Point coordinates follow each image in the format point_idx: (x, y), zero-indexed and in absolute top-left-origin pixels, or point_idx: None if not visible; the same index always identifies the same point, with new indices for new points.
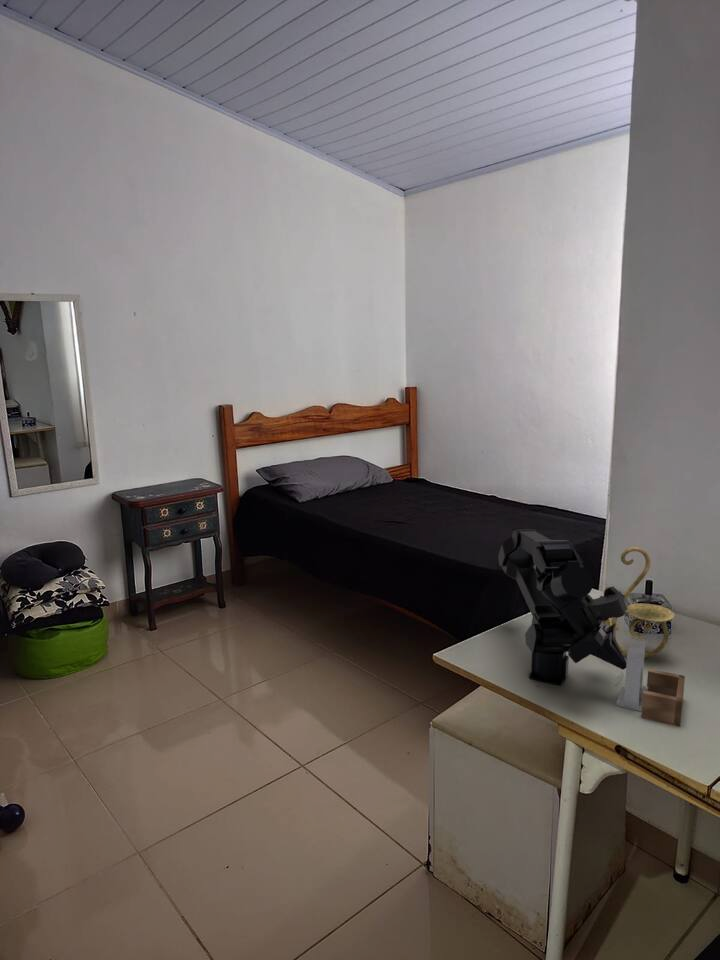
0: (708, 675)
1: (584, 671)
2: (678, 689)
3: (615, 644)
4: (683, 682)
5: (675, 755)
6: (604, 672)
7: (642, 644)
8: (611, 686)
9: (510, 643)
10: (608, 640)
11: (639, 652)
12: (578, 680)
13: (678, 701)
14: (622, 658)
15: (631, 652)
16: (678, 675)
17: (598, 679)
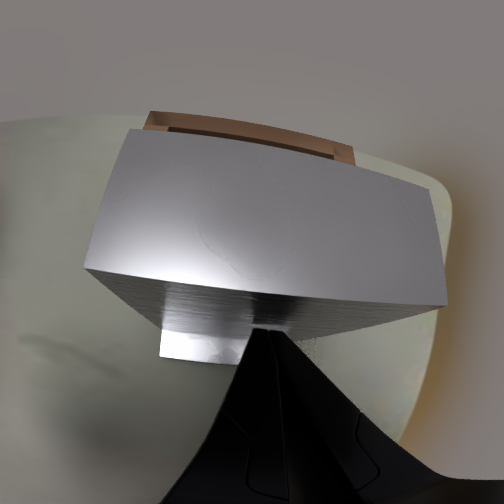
0: (28, 122)
1: (62, 463)
2: (273, 138)
3: (279, 461)
4: (206, 118)
5: None
6: (39, 398)
7: (191, 152)
8: (129, 386)
9: None
10: (502, 488)
11: (402, 200)
12: (137, 489)
13: (351, 156)
14: (288, 364)
15: (434, 269)
16: (151, 126)
17: (95, 427)
